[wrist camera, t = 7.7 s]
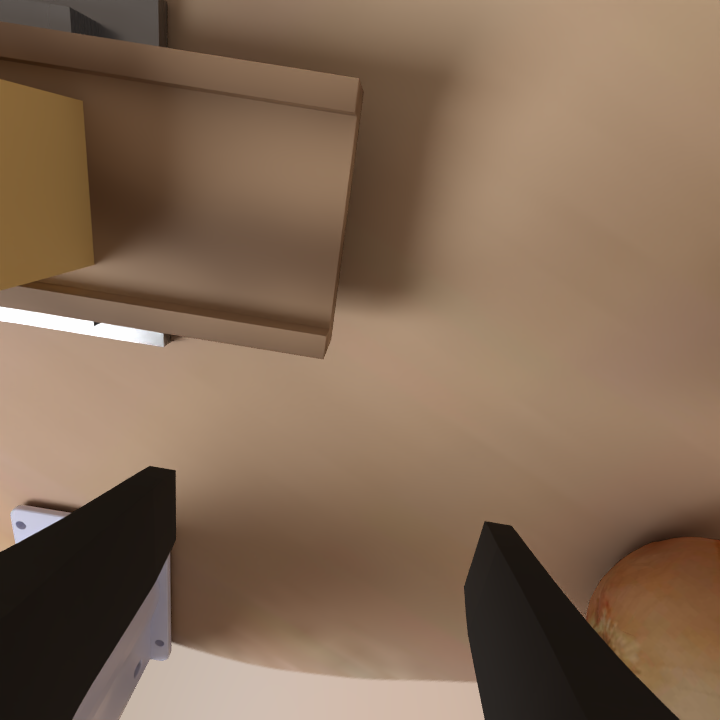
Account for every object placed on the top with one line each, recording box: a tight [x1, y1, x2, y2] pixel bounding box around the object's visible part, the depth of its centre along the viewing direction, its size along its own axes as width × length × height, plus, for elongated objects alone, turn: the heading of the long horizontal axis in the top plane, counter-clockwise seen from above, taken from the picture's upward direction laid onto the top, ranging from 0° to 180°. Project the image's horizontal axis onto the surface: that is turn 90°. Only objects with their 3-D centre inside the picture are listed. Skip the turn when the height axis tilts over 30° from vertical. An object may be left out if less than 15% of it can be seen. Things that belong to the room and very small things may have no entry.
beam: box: [0, 21, 364, 359], centre depth 15 cm, size 8×22×3 cm, turn 82°
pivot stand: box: [0, 0, 170, 347], centre depth 16 cm, size 12×8×2 cm, turn 172°
